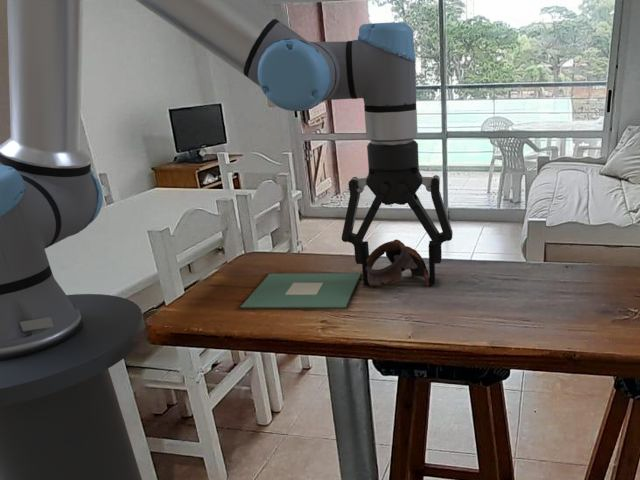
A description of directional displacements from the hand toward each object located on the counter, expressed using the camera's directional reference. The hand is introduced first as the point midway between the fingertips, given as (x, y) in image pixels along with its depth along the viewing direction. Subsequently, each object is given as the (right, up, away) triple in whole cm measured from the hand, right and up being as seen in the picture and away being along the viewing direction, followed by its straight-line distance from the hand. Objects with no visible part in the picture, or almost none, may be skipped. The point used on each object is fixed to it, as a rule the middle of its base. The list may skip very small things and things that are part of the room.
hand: (399, 281), depth 93 cm
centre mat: (-15, -2, -1) cm, 15 cm away
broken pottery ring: (0, 0, 0) cm, 1 cm away
